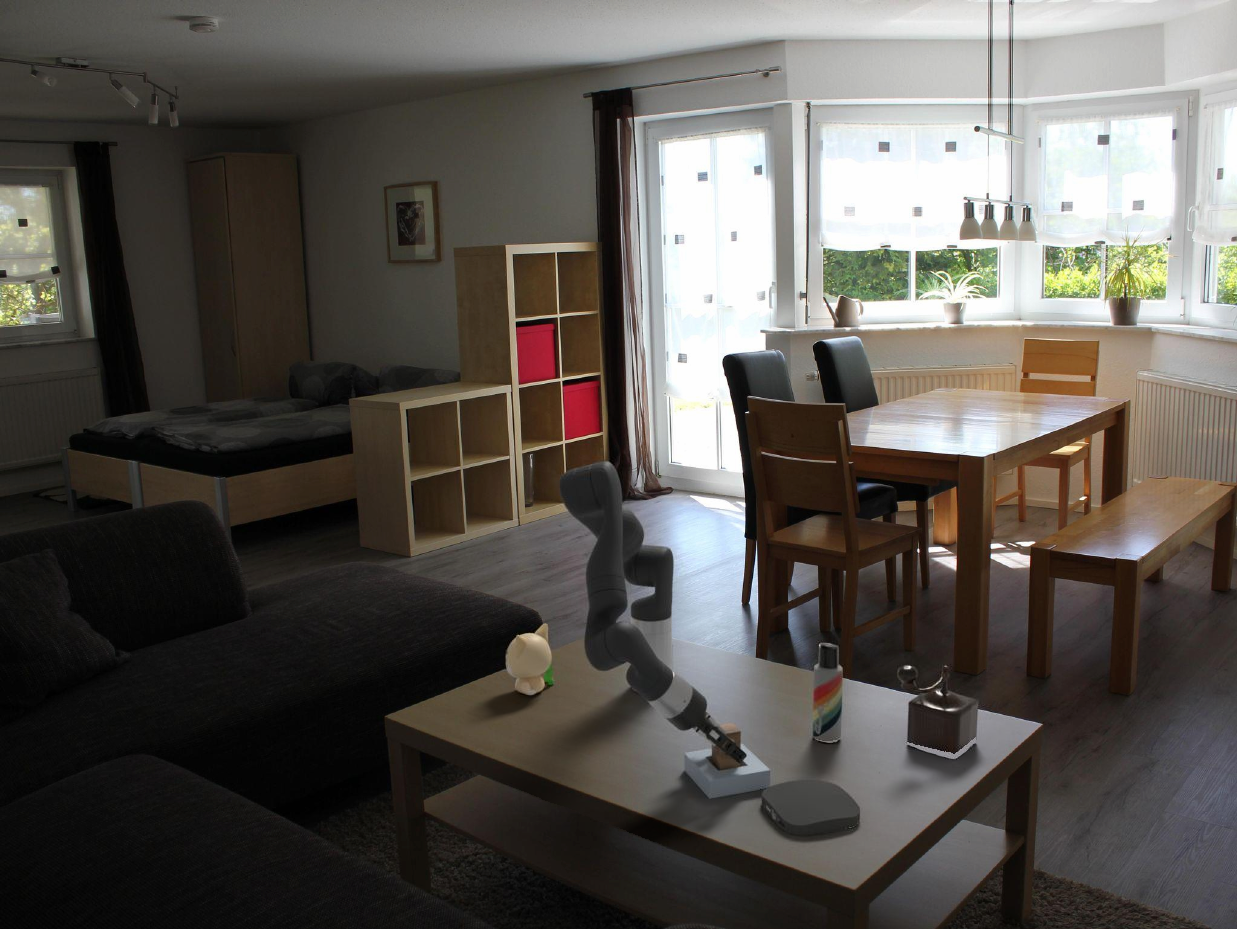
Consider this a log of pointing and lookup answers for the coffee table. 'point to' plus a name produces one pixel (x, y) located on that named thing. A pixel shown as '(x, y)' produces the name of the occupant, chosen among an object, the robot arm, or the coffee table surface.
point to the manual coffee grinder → (938, 714)
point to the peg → (718, 756)
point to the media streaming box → (810, 807)
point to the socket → (726, 774)
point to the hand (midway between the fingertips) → (733, 749)
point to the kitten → (530, 661)
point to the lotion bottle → (827, 694)
